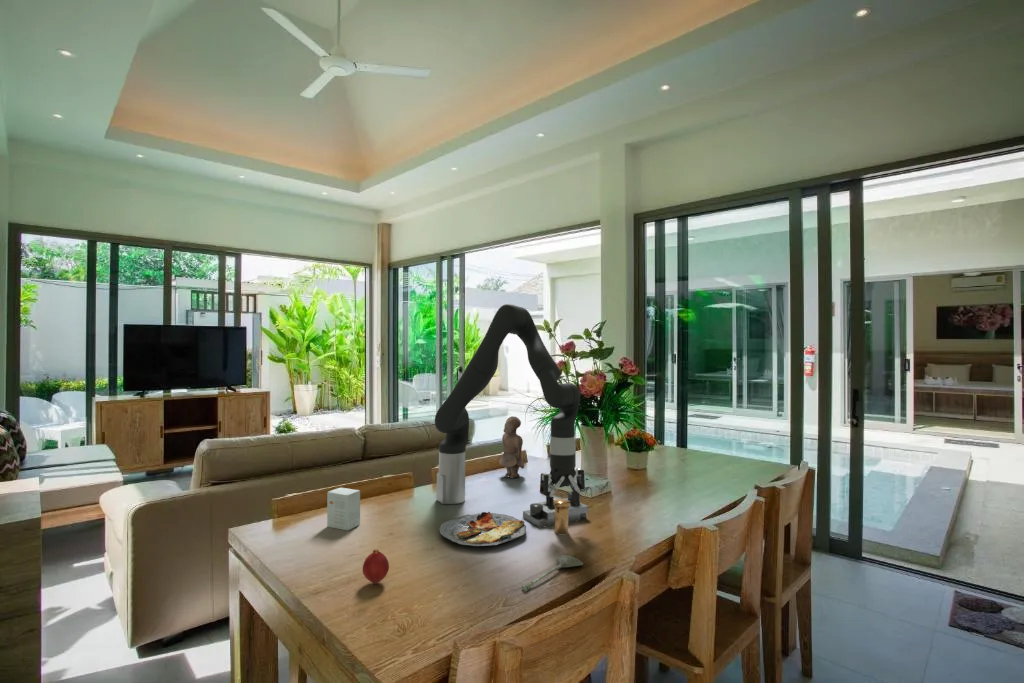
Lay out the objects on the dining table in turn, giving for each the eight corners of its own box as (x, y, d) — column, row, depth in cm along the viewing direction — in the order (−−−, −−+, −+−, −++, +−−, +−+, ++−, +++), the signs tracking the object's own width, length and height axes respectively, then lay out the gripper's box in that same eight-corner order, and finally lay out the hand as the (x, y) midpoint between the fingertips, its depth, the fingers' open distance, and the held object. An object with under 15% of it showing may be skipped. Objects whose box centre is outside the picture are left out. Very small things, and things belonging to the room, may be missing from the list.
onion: (365, 578, 120) (365, 543, 120) (390, 577, 121) (390, 543, 121) (360, 590, 114) (360, 554, 114) (386, 589, 115) (386, 553, 115)
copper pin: (558, 536, 147) (559, 505, 147) (549, 530, 152) (549, 500, 152) (573, 533, 150) (574, 503, 150) (563, 528, 154) (564, 498, 154)
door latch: (539, 527, 154) (539, 504, 154) (522, 517, 163) (523, 495, 163) (587, 518, 163) (588, 496, 163) (569, 509, 172) (570, 488, 172)
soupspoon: (588, 568, 129) (567, 562, 134) (588, 555, 130) (567, 549, 134) (535, 597, 113) (512, 589, 117) (535, 581, 113) (512, 574, 117)
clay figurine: (493, 475, 214) (494, 415, 214) (512, 471, 220) (513, 413, 220) (511, 482, 204) (512, 419, 204) (531, 478, 210) (532, 417, 210)
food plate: (488, 513, 166) (488, 502, 166) (542, 534, 149) (542, 522, 149) (424, 535, 149) (424, 523, 148) (476, 561, 132) (476, 548, 132)
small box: (360, 525, 155) (360, 490, 155) (347, 531, 149) (347, 495, 150) (340, 521, 158) (340, 486, 158) (326, 526, 153) (326, 491, 153)
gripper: (575, 447, 158) (575, 500, 157) (535, 451, 151) (535, 506, 151) (590, 451, 151) (590, 506, 151) (549, 456, 144) (548, 514, 144)
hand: (562, 506), depth 151 cm, fingers open, 8 cm apart
